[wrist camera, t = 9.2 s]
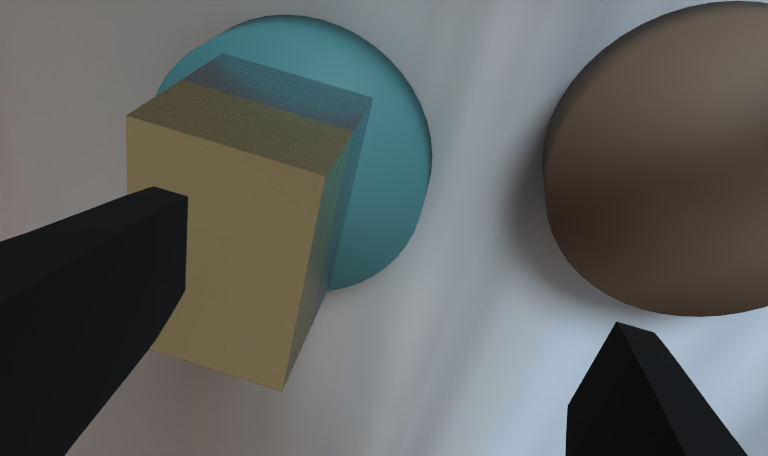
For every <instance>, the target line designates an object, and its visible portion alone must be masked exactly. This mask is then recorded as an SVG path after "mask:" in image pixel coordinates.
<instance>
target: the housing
mask: <svg viewBox="0 0 768 456" xmlns="http://www.w3.org/2000/svg"><path fill="white" fill-rule="evenodd" d="M372 102H373V98H372V97H369V96H366V95H362V94H359V93H356V92H352V91H349V90H346V89H342V88H339V87H335V86H332V85H329V84H325V83H322V82H319V81H315V80H312V79H309V78H305V77H302V76H299V75H295V74H292V73H288V72H285V71H282V70H278V69H275V68H272V67H268V66H265V65H262V64H258V63H255V62H251V61H248V60H245V59H241V58H238V57H235V56H231V55H228V54H225V53H222V54H220V55H219V56H217V57H216V58H214V59H213V60H211V61H210V62H208V63H206V64H205V65H203V66H202V67H200V68H199V69H197V70H196V71H194V72H193V73H191V74H189V75H188V76H186V77H185V78H183V79H182V80H180V81H179V82H177V83H176V84H174V85H173V86H171V87H169V88H168V89H166V90H165V91H163V92H162V93H160V94H159V95H157V96H156V97H154V98H152V99H151V100H149V101H148V102H146V103H145V104H143V105H142V106H140V107H139V108H137V109H136V110H134V111H132V112H131V113H129V114H128V115H126V139H127V195H129V194H132V193H134V192H137V191H140V190H143V189H146V188H150V187H153V186H155V187H158V188H161V189H165V190H168V191H172V192H175V193H178V194H182V195H185V196H188V221H187V255H186V289H185V292H184V294H183V296H182V297H181V299H180V301H179V303H178V304H177V306H176V308H175V309H174V311H173V313H172V315H171V316H170V318H169V320H168V321H167V323H166V325H165V326H164V328H163V329H162V331H161V333H160V334H159V336H158V337H157V339H156V340H155V342H154V343H153V344H152V346H151V347H150V348H149V350H153V351H156V352H159V353H162V354H165V355H168V356H171V357H175V358H178V359H181V360H184V361H187V362H190V363H193V364H197V365H200V366H203V367H206V368H209V369H212V370H215V371H219V372H222V373H225V374H228V375H231V376H234V377H237V378H241V379H244V380H247V381H250V382H253V383H256V384H259V385H263V386H266V387H269V388H272V389H275V390H278V391H281V392H282V391H283V389H284V386H285V384H286V382H287V380H288V377H289V375H290V373H291V371H292V368H293V366H294V364H295V362H296V359H297V357H298V355H299V353H300V350H301V348H302V346H303V344H304V341H305V339H306V337H307V335H308V333H309V330H310V328H311V326H312V324H313V321H314V319H315V317H316V315H317V312H318V310H319V308H320V306H321V303H322V301H323V299H324V297H325V294H326V292H327V290H328V288H329V285H330V282H331V278H332V273H333V269H334V265H335V261H336V256H337V252H338V248H339V243H340V239H341V235H342V231H343V226H344V222H345V218H346V213H347V209H348V205H349V201H350V196H351V192H352V188H353V183H354V179H355V175H356V171H357V166H358V162H359V158H360V153H361V149H362V145H363V141H364V136H365V132H366V128H367V123H368V119H369V115H370V111H371V106H372Z"/></svg>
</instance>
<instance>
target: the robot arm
mask: <svg viewBox="0 0 768 456" xmlns="http://www.w3.org/2000/svg"><path fill="white" fill-rule="evenodd" d="M187 221H188V196H185V195H182V194H178V193H175V192H172V191H168V190H165V189H161V188H158V187H155V186H153V187H150V188H146V189H143V190H140V191H137V192H134V193H132V194H129V195H126V196H123V197H121V198H118V199H115V200H113V201H110V202H107V203H105V204H102V205H100V206H97V207H94V208H92V209H89V210H87V211H84V212H81V213H79V214H76V215H73V216H71V217H68V218H65V219H63V220H60V221H57V222H55V223H52V224H49V225H47V226H44V227H41V228H39V229H36V230H33V231H31V232H28V233H25V234H22V235H19V236H16V237H13V238H10V239H7V240H4V241H1V242H0V456H65V454H66V453H67V452H68V450H69V449H70V447H71V446H72V445H73V444H74V442H75V441H76V440H77V439H78V437H79V436H80V435H81V434H82V432H83V431H84V430H85V429H86V427H87V426H88V425H89V424H90V422H91V421H92V420H93V419H94V417H95V416H96V415H97V414H98V412H99V411H100V410H101V409H102V407H103V406H104V405H105V404H106V402H107V401H108V400H109V399H110V397H111V396H112V395H113V394H114V392H115V391H116V390H117V389H118V387H119V386H120V385H121V384H122V382H123V381H124V380H125V379H126V377H127V376H128V375H129V374H130V372H131V371H132V370H133V369H134V367H135V366H136V365H137V364H138V362H139V361H140V360H141V358H142V357H143V356H144V355H145V353H146V352H147V351H148V349H149V348H150V347H151V346H152V344H153V343H154V342H155V340H156V339H157V337H158V336H159V334H160V333H161V331H162V329H163V328H164V326H165V325H166V323H167V321H168V320H169V318H170V316H171V315H172V313H173V311H174V309H175V308H176V306H177V304H178V303H179V301H180V299H181V297H182V296H183V294H184V292H185V289H186V255H187ZM566 456H748V455H747V454H746V453H745V451H744V450H743V449H742V448H741V446H740V445H739V444H738V442H737V441H736V440H735V439H734V437H733V436H732V435H731V433H730V432H729V431H728V429H727V428H726V427H725V425H724V424H723V423H722V421H721V420H720V419H719V417H718V416H717V415H716V413H715V412H714V411H713V409H712V408H711V407H710V405H709V404H708V403H707V401H706V400H705V399H704V397H703V396H702V394H701V393H700V392H699V390H698V389H697V388H696V386H695V385H694V384H693V382H692V381H691V380H690V378H689V377H688V375H687V374H686V373H685V371H684V370H683V369H682V367H681V366H680V365H679V363H678V362H677V361H676V359H675V358H674V357H673V355H672V354H671V353H670V351H669V350H668V349H667V347H666V346H665V345H664V344H663V342H662V341H661V340H660V339H659V338H658V336H657V335H656V334H655V333H654V332H650V331H647V330H643V329H640V328H637V327H633V326H630V325H626V324H623V323H619V322H616V323H615V325H614V327H613V328H612V330H611V332H610V334H609V335H608V337H607V339H606V341H605V342H604V344H603V346H602V347H601V349H600V351H599V353H598V354H597V356H596V358H595V360H594V361H593V363H592V365H591V366H590V368H589V370H588V372H587V373H586V375H585V377H584V379H583V380H582V382H581V384H580V385H579V387H578V389H577V391H576V392H575V394H574V396H573V398H572V399H571V401H570V403H569V404H568V411H567V429H566Z"/></svg>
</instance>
